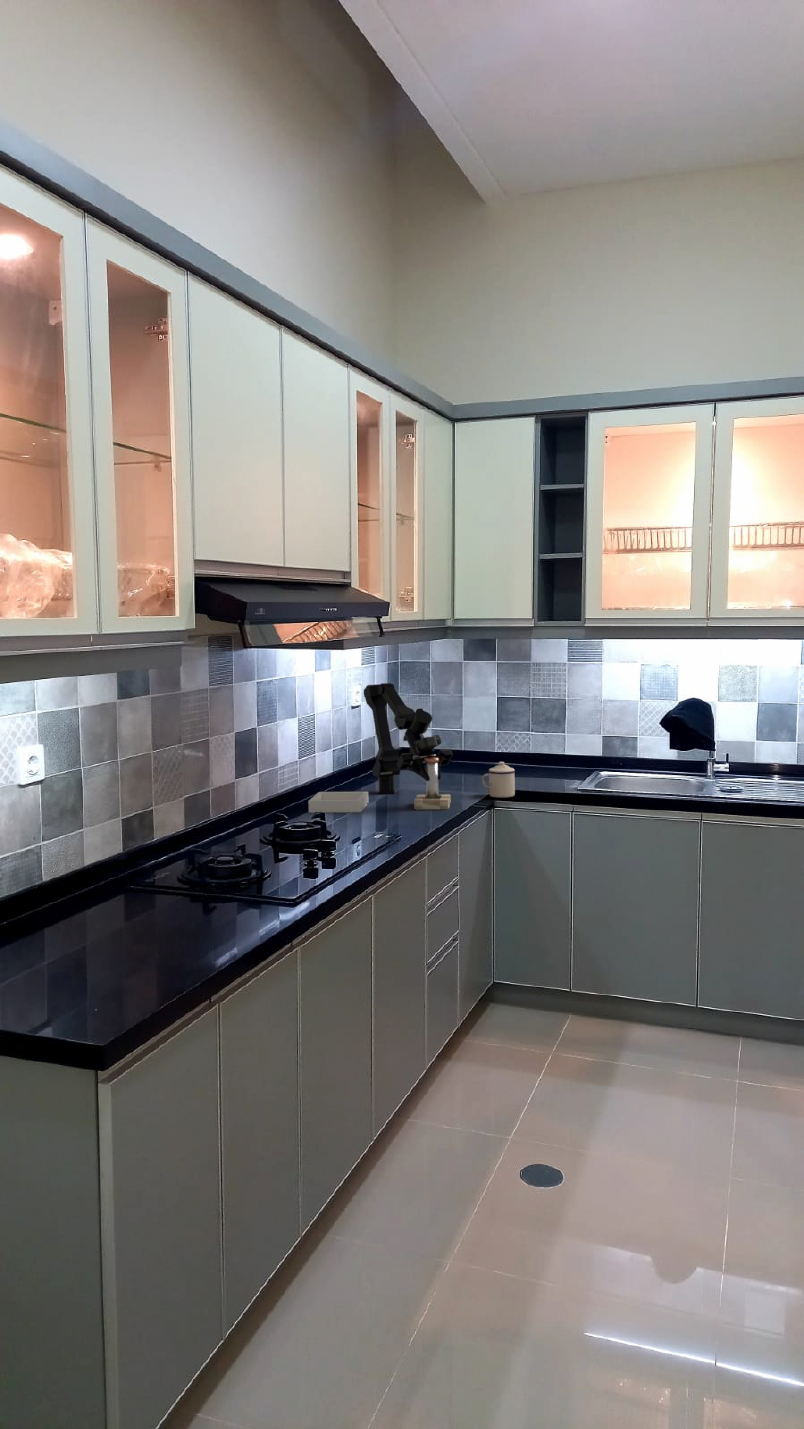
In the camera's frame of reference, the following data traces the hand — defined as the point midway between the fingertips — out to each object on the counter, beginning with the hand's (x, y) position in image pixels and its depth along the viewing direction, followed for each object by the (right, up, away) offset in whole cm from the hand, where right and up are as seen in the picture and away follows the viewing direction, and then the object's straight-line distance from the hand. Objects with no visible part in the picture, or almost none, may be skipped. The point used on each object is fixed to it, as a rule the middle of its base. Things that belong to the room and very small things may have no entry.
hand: (434, 779), depth 332 cm
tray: (-31, -10, +5) cm, 33 cm away
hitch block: (0, -9, +2) cm, 9 cm away
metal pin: (0, -8, +2) cm, 8 cm away
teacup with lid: (+23, -7, +19) cm, 31 cm away
